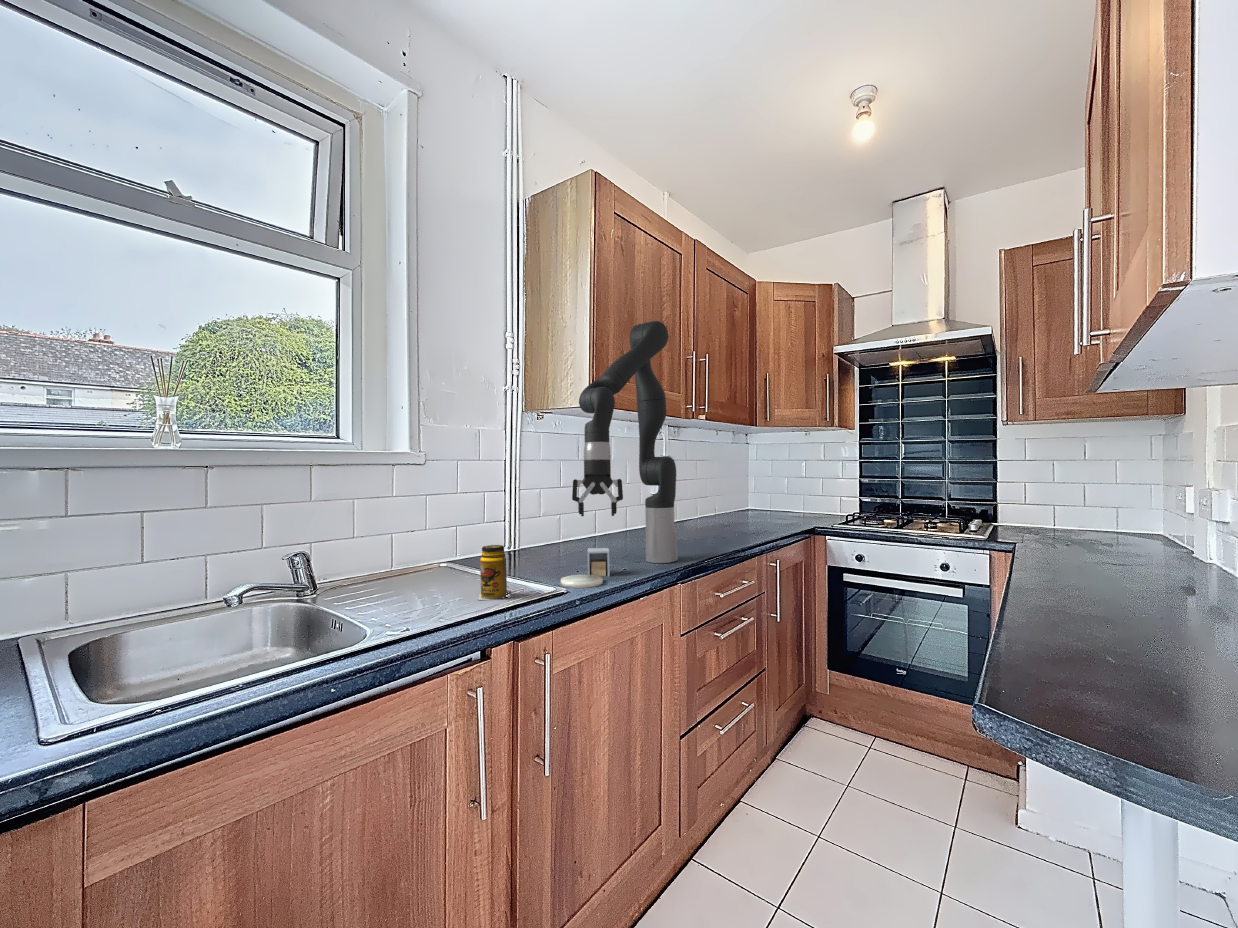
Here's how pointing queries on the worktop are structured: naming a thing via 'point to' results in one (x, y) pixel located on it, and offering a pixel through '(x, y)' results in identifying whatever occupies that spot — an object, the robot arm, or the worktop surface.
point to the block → (598, 567)
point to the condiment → (493, 573)
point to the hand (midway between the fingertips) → (597, 515)
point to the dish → (581, 581)
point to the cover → (598, 557)
